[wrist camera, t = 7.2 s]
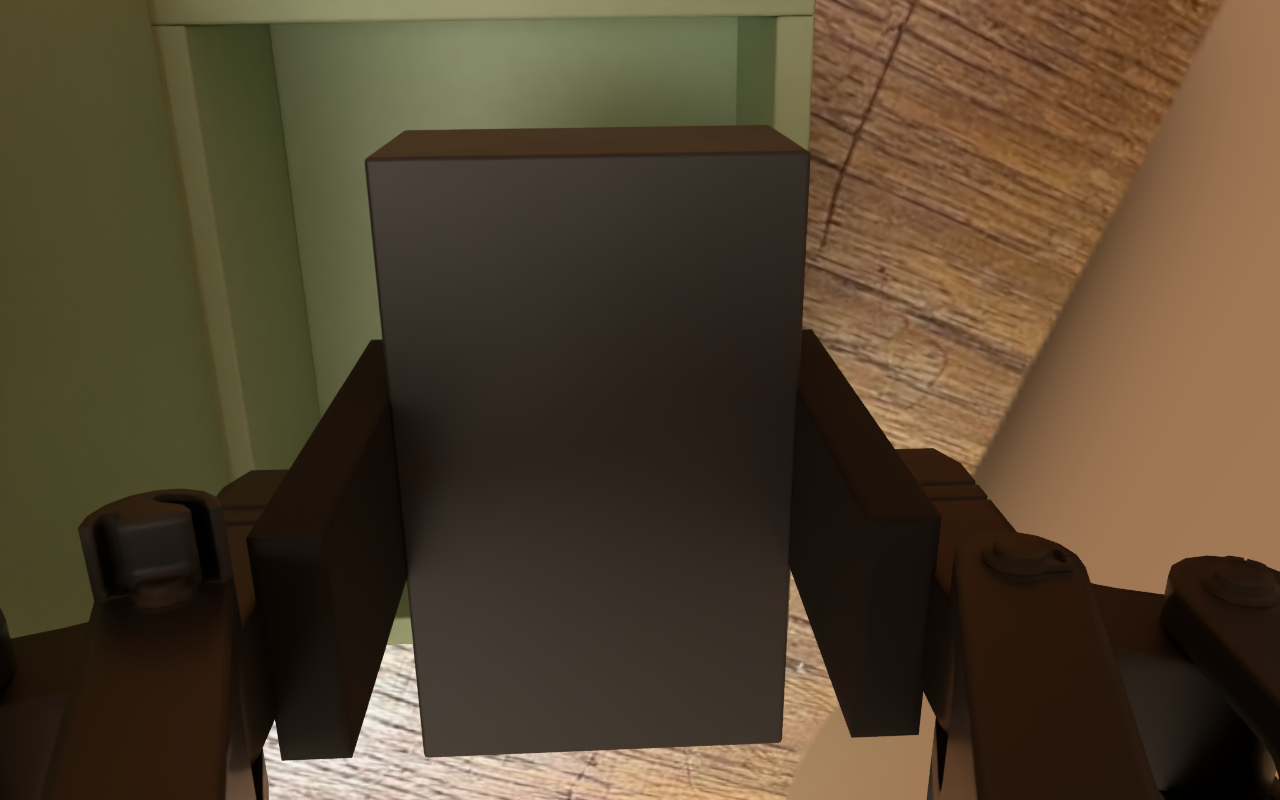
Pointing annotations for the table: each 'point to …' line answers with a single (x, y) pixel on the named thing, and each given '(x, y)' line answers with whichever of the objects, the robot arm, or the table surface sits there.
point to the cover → (89, 298)
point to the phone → (593, 428)
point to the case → (378, 112)
